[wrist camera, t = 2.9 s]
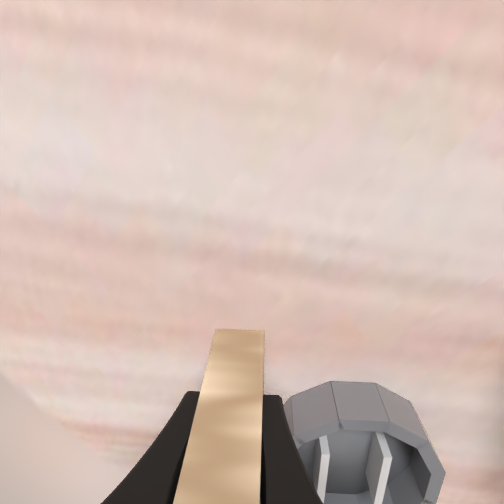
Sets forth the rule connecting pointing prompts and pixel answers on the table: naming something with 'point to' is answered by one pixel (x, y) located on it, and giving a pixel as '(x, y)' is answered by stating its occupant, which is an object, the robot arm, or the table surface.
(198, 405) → the wooden jenga block
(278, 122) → the table surface
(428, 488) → the grey round bowl
